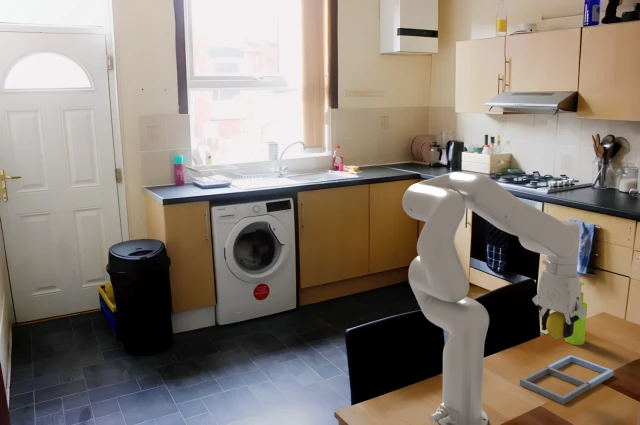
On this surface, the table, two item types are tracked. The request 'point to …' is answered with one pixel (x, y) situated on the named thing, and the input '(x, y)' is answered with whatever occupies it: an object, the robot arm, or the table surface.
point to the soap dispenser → (579, 326)
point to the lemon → (556, 324)
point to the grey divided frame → (566, 378)
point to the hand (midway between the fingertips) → (556, 332)
